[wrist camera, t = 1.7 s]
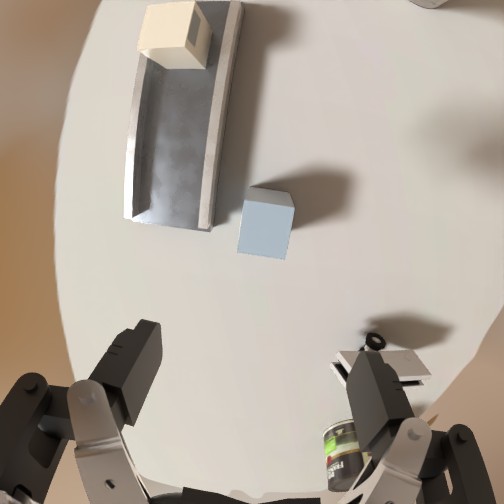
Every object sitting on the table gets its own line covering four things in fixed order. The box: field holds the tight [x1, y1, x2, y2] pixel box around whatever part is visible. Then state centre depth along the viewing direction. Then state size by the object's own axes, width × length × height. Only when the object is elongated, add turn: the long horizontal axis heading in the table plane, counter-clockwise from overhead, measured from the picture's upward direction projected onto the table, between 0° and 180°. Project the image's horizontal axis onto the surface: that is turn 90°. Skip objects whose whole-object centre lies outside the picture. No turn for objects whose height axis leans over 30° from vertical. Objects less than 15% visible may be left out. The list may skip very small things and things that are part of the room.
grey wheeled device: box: [330, 333, 431, 390], centre depth 34 cm, size 4×10×15 cm
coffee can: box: [323, 420, 371, 492], centre depth 42 cm, size 10×10×14 cm
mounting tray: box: [124, 1, 245, 232], centre depth 27 cm, size 28×10×4 cm, turn 172°
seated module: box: [137, 1, 213, 69], centre depth 20 cm, size 5×5×8 cm
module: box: [237, 187, 295, 260], centre depth 29 cm, size 5×5×8 cm
